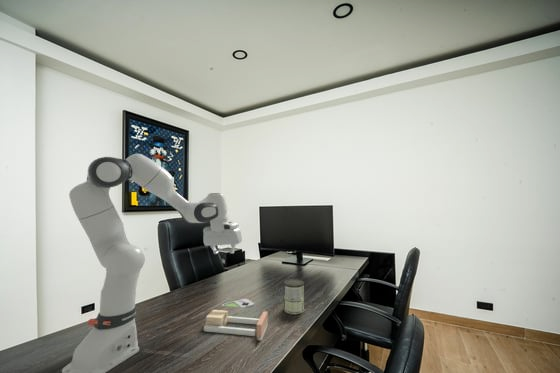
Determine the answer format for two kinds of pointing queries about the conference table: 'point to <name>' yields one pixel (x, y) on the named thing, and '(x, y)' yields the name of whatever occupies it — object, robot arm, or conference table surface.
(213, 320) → the block
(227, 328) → the rail
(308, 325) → the conference table surface
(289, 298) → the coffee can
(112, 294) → the robot arm
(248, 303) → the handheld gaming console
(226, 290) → the conference table surface
